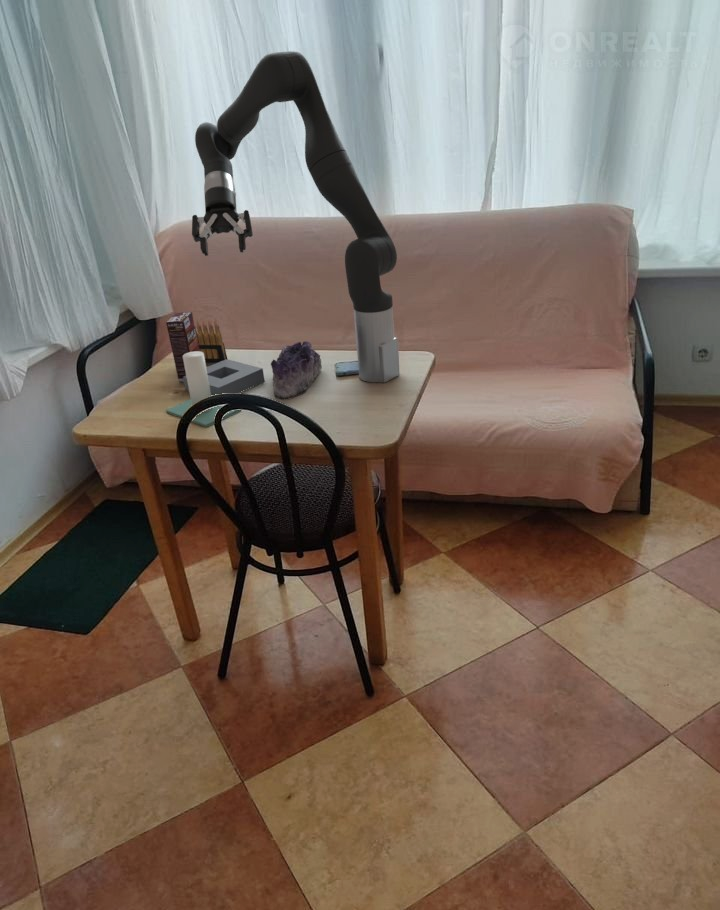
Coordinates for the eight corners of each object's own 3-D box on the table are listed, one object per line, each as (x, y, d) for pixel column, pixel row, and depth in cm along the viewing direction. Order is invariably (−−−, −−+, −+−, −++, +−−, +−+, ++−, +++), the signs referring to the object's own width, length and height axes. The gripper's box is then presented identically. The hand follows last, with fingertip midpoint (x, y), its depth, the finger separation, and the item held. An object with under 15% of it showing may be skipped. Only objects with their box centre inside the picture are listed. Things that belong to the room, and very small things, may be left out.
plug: (216, 404, 147) (207, 351, 140) (207, 413, 143) (198, 358, 136) (198, 404, 148) (188, 351, 141) (189, 412, 144) (178, 358, 137)
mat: (241, 410, 144) (240, 408, 144) (206, 427, 138) (205, 424, 137) (201, 397, 153) (200, 394, 153) (166, 412, 146) (165, 410, 146)
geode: (313, 400, 147) (302, 360, 142) (267, 406, 149) (254, 368, 145) (329, 365, 164) (319, 328, 159) (287, 371, 166) (277, 336, 162)
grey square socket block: (264, 381, 159) (262, 368, 157) (221, 401, 150) (218, 387, 148) (229, 371, 167) (226, 359, 165) (185, 389, 158) (182, 376, 156)
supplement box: (196, 381, 163) (183, 321, 155) (178, 382, 163) (164, 322, 155) (204, 369, 170) (192, 311, 163) (187, 370, 171) (174, 312, 163)
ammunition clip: (190, 362, 176) (181, 320, 170) (193, 360, 178) (184, 318, 172) (225, 363, 173) (217, 320, 168) (228, 360, 175) (220, 318, 169)
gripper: (187, 188, 152) (190, 245, 148) (246, 182, 153) (250, 239, 148) (194, 208, 159) (197, 264, 155) (251, 203, 160) (255, 258, 155)
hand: (223, 252), depth 151 cm, fingers open, 8 cm apart
